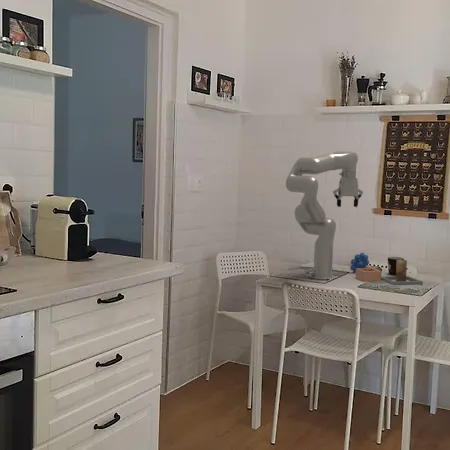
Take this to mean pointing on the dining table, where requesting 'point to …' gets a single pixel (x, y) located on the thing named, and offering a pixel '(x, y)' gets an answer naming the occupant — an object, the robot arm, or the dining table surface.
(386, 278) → the tray
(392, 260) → the coffee mug
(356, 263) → the grapes
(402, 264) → the tan upright block
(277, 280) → the dining table surface
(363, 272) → the orange block with hole
